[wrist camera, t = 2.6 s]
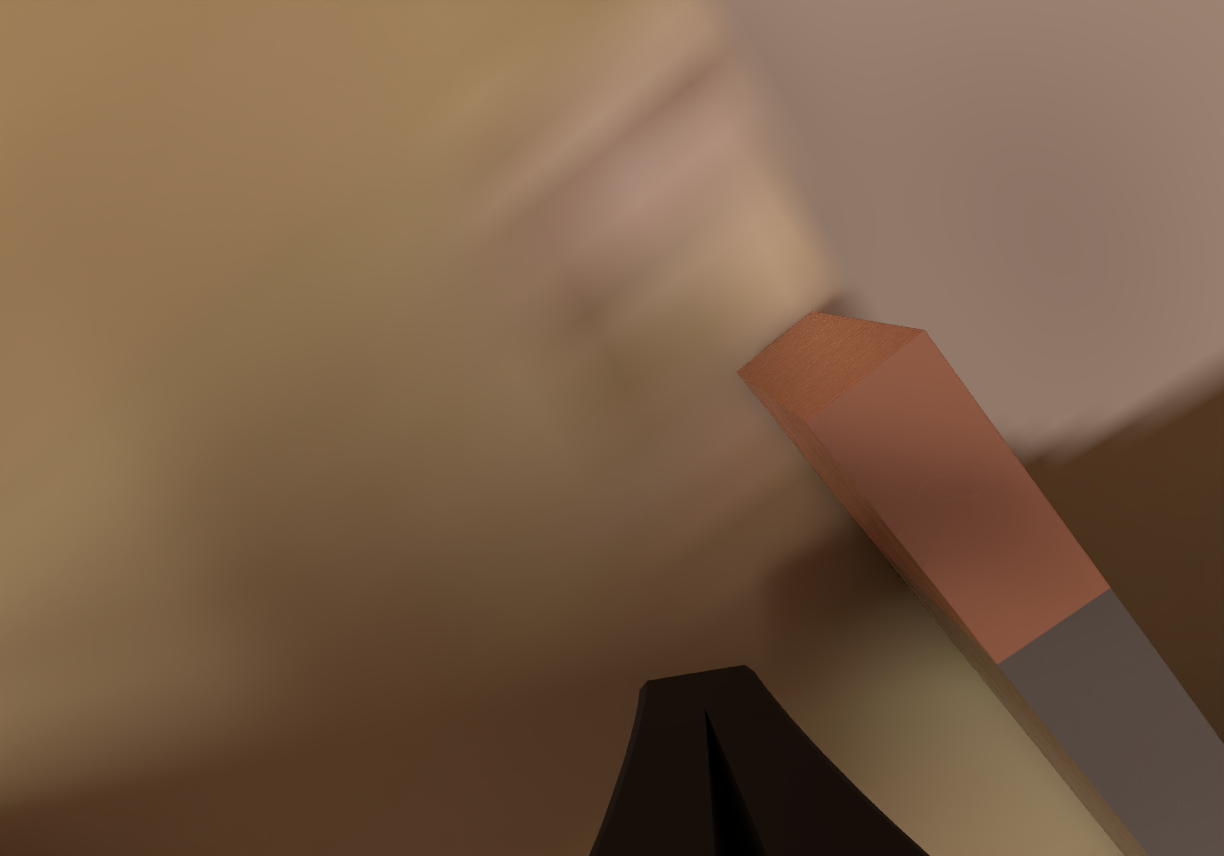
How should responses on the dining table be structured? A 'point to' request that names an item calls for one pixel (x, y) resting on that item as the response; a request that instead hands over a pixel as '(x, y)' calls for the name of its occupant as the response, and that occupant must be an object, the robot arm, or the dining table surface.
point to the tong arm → (999, 574)
